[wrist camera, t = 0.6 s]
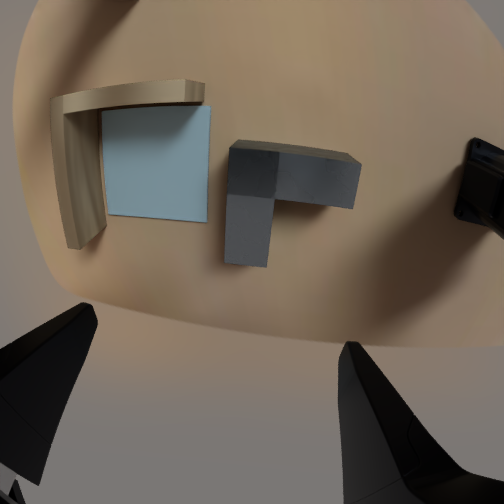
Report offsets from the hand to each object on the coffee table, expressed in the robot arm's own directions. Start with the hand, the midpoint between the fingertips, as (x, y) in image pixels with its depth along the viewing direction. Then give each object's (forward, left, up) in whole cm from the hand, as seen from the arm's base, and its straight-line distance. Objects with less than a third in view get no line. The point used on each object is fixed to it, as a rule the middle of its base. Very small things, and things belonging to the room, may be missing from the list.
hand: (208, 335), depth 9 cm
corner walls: (+7, -3, -12) cm, 14 cm away
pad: (+7, -3, -12) cm, 14 cm away
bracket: (-3, -1, -12) cm, 12 cm away
